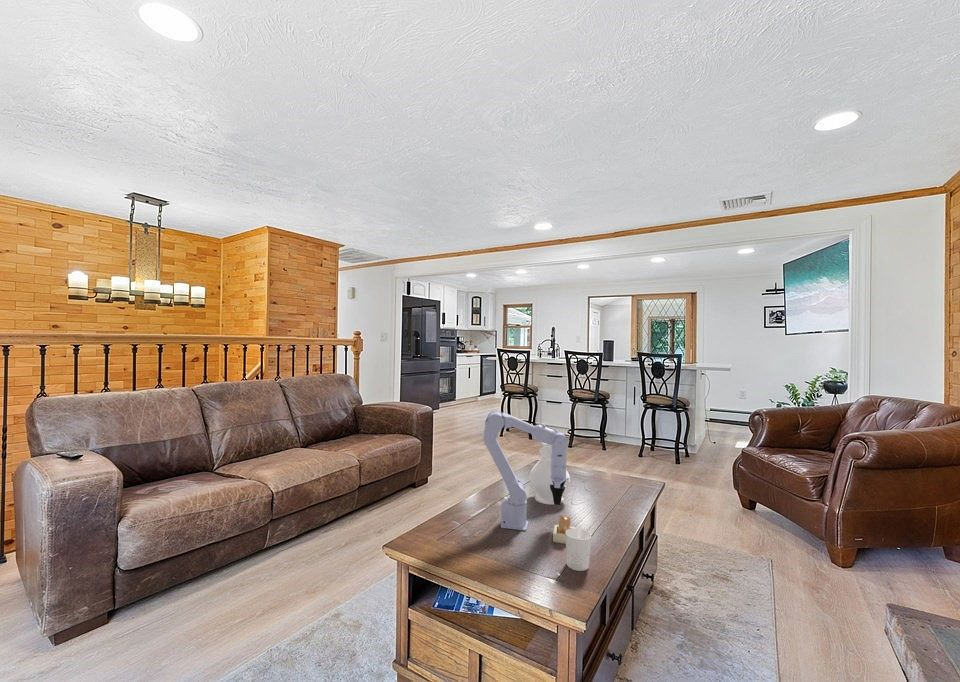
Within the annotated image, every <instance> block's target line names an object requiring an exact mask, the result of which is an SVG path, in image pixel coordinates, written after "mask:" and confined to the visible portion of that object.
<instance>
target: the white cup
mask: <svg viewBox="0 0 960 682" xmlns="http://www.w3.org/2000/svg"><path fill="white" fill-rule="evenodd" d="M591 547H592V534H591V532H589V531H587V530H585V529H583V528H582V529H581V528H577V527H575V528H573V529H568V530H567V531H566V544H565V554H566V555H565V556H566V566H567V567H568V568H569V569H570V570H572V571H577V572H584V571H587V570H588V569H589V568H590V567H589V566H590V559H591V558H590V557H591Z"/></svg>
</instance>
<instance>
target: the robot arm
mask: <svg viewBox="0 0 960 682" xmlns="http://www.w3.org/2000/svg"><path fill="white" fill-rule="evenodd" d="M503 428H504V429H509V428H514V429H517V430H520V431H523V432H526V433H529V434H531V436H532V437H533V438H532V439H534V440H536V441H539V442H540V443H542V442H543V443H546V444H548V445H552V452H551V475H550V479H551V480H552V482H553V485H550V489H551V491H552V495H553V501H554V505H555V506H561V504H562V503H561V499H562V497H563V494H564V493H565V492H564V490H565V487H563V486H564V484H565V482H566V480H569V477H566V470H567V448H568V446H569V441H568V438H567V437H566V435H565V434H564V433H563V432H561V431H559V430H557V429H554V430H553V429H551V428H550V427H549V428H548V427H547V426H546V424H544V423H542V424H540V423H539V424H537V425H533V424H531V423H529V422H527V421H524V420H522V419H520V418H518V417H516V416H513V415H511V414H509V413H506V412H502V411H500V410H491V411H490V412H489V413H488V415H487V417H486V418H485V423H484V430H483V437H482V438H483V442H484V444H485V447H486V448H487V449H486V450H488V452H489V455H490V456H491V458H492V460H493V462H494V464H495V466H496V467H497V470H498V471H499V474H500V475H501V477H502V479H503V481H504V484H505V486H506V490H507V491H508V493H509V497H508V498H507V500H502V503H501V509H500V510H501V512H500V528H501V529H509V530H516V531H517V530H518V531H526V530H527V529H528V525H529V521H528V520H527V509H528V508H527V507H528V505H527V504H528V503H527V493H526V486H525V484H524V483H523V482H522V481H521V480H520V479H519V478H518V476H517V475H516V474H515V472H514V470H513V468H512V466H511V464H510V462H509V460H508V458H507V455H506V454H505V453H504V450H503V449H502V447H501V445H500V443H499V441H498V436H499V433H500V432H501V431H502V429H503ZM563 492H564V493H563ZM554 505H553V506H554Z"/></svg>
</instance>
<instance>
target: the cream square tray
mask: <svg viewBox="0 0 960 682" xmlns="http://www.w3.org/2000/svg"><path fill="white" fill-rule="evenodd" d="M573 528H576V527H575V526H570V529H573ZM558 530H559V524H554V525H553V532H552V542H553V543H557V544H565V545H566V534H563V533H558Z"/></svg>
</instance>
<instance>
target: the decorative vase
mask: <svg viewBox="0 0 960 682" xmlns="http://www.w3.org/2000/svg"><path fill="white" fill-rule="evenodd" d="M551 452H552V445H548V444H546V443H543V442H541V448H539V455H540V456H541V457H542V458H540V460H539V461H537V462H536V463H535V464H534V466H533V467H532V469H531V470H530V472H529V477H528V478H529V483H530V486H531V487H532V488H533V490H534V491H535V493H536V494H535V496H534V499H535V501H536V502H537V503H540V504H544V505H553V506H554V501H553V495H552V491H551V489H550V485H553V482H552V480H551V479H550V475H551ZM566 477H569V480H566V482H565V484H564V486H563V487H565V490H564V492H563V494H564V493H565V492H566V490H567V489H568V488H569V486H570V484H571V476H570V474H569V471H568V470H567V469H566ZM563 502H564V497H563V496H562V499H561V503H560V504H562V503H563Z"/></svg>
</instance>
